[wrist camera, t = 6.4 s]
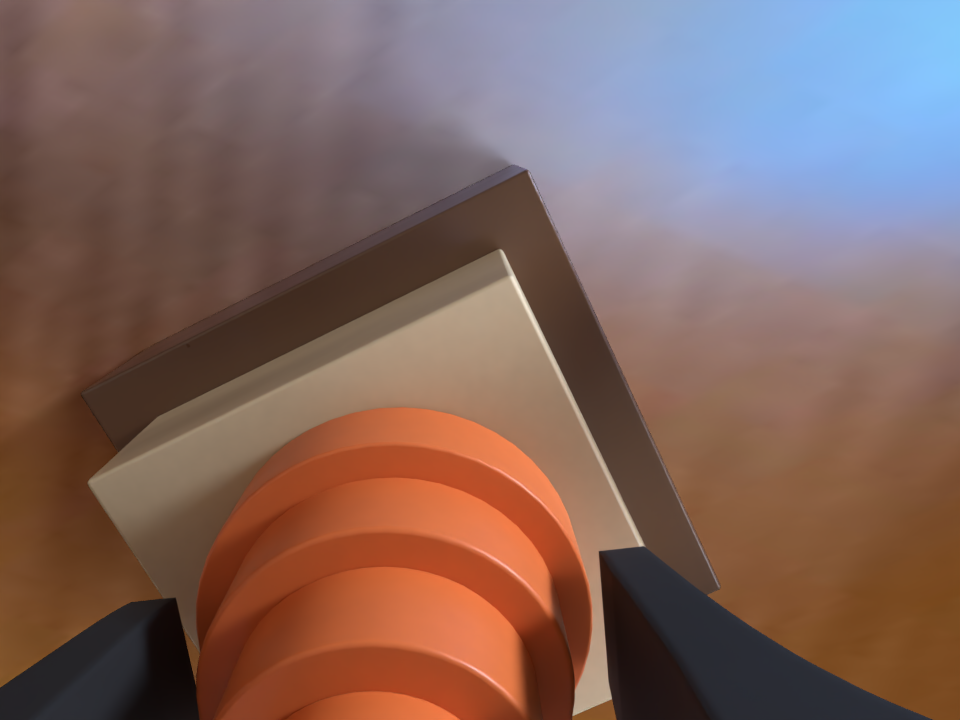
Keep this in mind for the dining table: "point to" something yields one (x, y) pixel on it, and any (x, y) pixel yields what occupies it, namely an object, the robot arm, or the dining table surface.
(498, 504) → the cone
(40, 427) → the dining table surface
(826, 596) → the dining table surface
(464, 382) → the block stack
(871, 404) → the dining table surface
